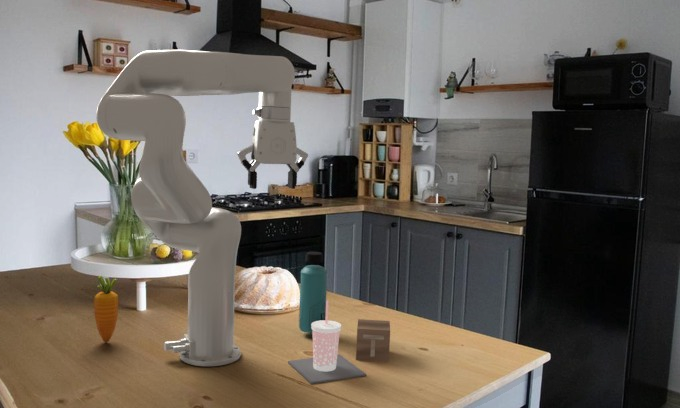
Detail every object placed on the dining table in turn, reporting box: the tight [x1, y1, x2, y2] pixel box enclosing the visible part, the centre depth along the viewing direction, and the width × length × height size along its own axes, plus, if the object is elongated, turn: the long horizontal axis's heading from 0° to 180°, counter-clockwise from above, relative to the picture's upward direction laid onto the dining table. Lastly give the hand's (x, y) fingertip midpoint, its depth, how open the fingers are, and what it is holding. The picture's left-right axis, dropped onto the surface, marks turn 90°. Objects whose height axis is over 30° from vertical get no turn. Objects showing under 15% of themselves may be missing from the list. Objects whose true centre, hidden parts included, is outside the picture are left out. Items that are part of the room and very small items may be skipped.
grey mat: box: [287, 353, 367, 385], centre depth 130 cm, size 12×12×1 cm
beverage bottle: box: [298, 251, 328, 334], centre depth 151 cm, size 6×7×20 cm
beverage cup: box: [311, 299, 342, 372], centre depth 130 cm, size 6×6×14 cm
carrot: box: [93, 275, 119, 344], centre depth 140 cm, size 5×5×15 cm
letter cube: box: [355, 318, 391, 363], centre depth 139 cm, size 7×7×7 cm
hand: (272, 188), depth 151 cm, fingers open, 9 cm apart
